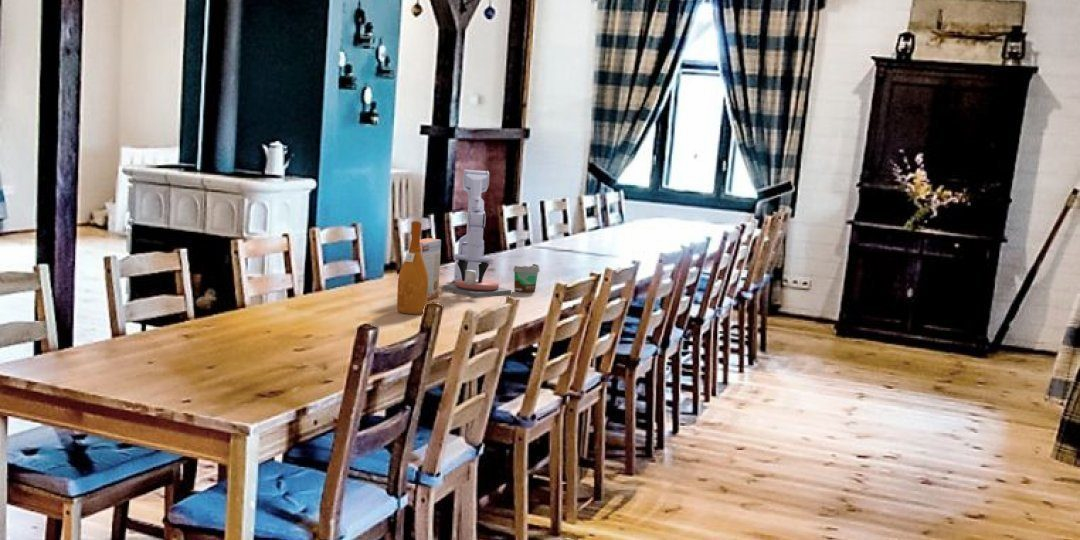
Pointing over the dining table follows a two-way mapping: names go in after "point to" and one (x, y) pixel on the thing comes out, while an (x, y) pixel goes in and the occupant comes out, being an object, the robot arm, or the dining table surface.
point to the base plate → (476, 291)
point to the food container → (525, 278)
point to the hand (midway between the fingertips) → (472, 281)
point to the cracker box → (431, 264)
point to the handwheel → (476, 282)
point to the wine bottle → (413, 277)
